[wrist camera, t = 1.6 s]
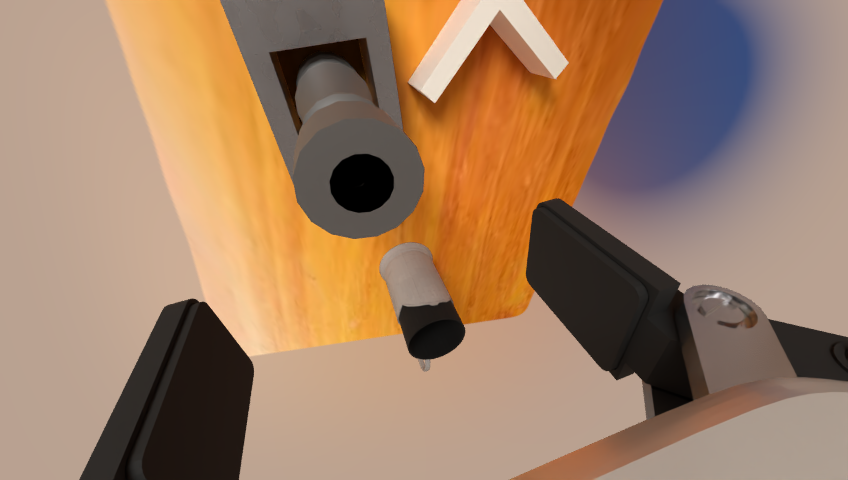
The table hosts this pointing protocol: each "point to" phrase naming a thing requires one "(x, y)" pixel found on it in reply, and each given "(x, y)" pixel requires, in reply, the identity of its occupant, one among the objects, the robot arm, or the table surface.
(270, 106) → the gray hollow block
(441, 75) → the angle bracket
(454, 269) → the table surface
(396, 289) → the glass holder
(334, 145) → the candle holder
